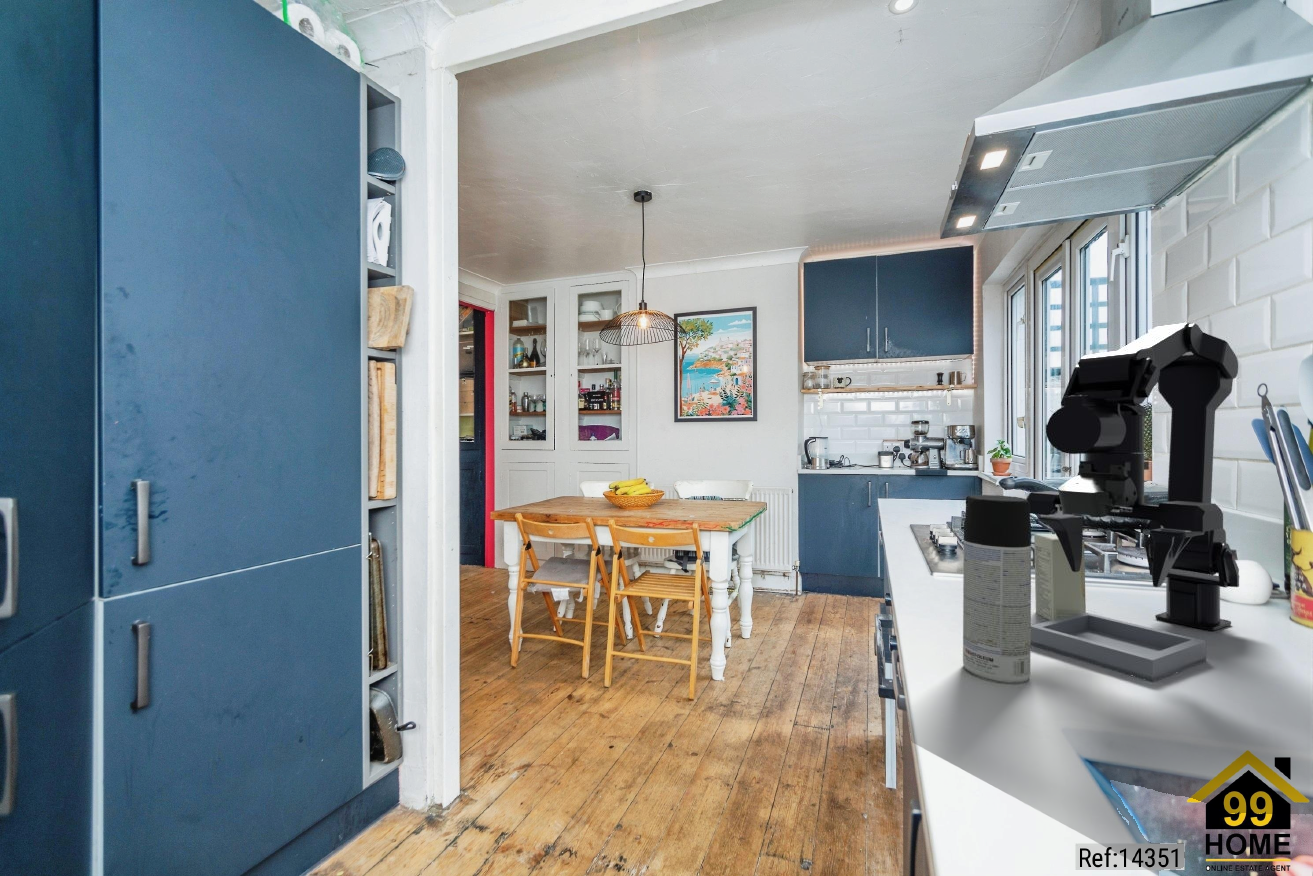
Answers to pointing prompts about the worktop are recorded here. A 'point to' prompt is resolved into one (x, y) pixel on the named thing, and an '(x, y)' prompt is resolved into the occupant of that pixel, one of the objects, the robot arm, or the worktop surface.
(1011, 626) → the spray can
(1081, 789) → the worktop surface
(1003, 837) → the worktop surface
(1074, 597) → the skincare box
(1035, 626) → the tray
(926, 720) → the worktop surface
